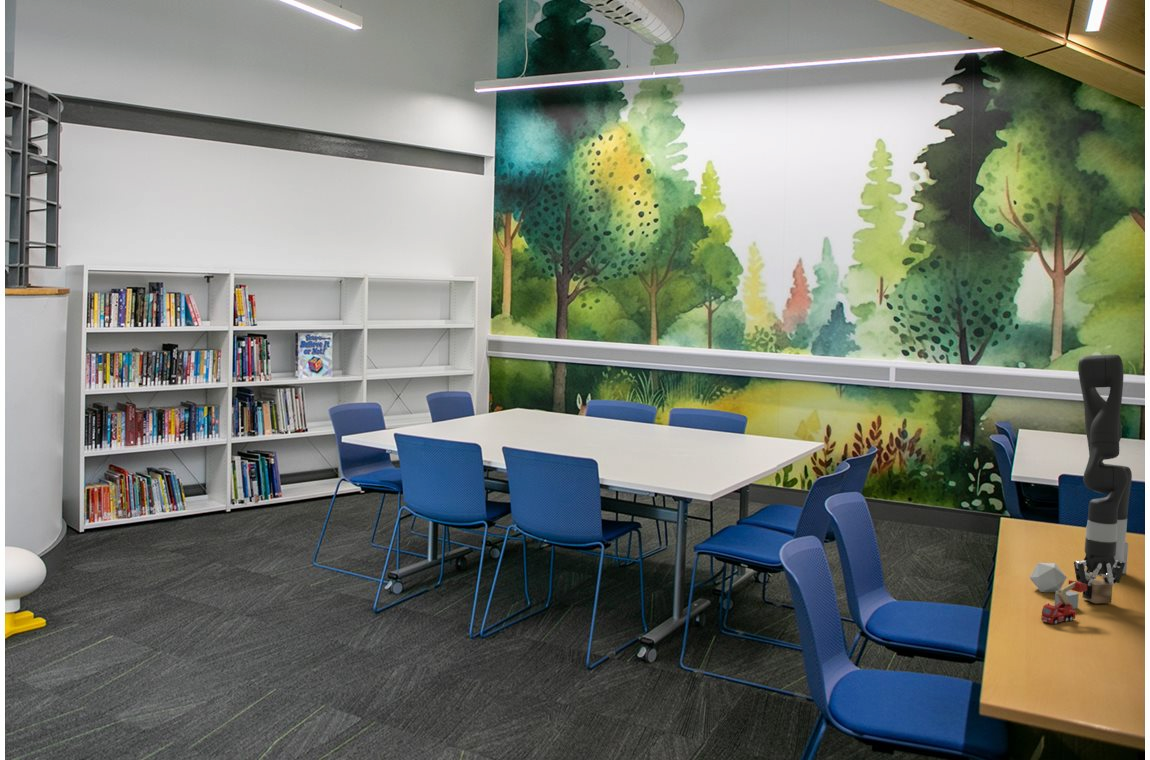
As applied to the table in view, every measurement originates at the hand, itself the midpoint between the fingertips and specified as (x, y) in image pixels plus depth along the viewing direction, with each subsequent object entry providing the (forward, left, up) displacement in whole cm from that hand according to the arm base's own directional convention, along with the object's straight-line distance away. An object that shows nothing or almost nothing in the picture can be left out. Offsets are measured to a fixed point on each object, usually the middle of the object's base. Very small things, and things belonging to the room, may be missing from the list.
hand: (1096, 597), depth 260 cm
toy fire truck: (+19, +13, -2) cm, 23 cm away
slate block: (+11, +3, -1) cm, 12 cm away
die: (+8, -11, -2) cm, 13 cm away
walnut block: (0, 0, -1) cm, 1 cm away
